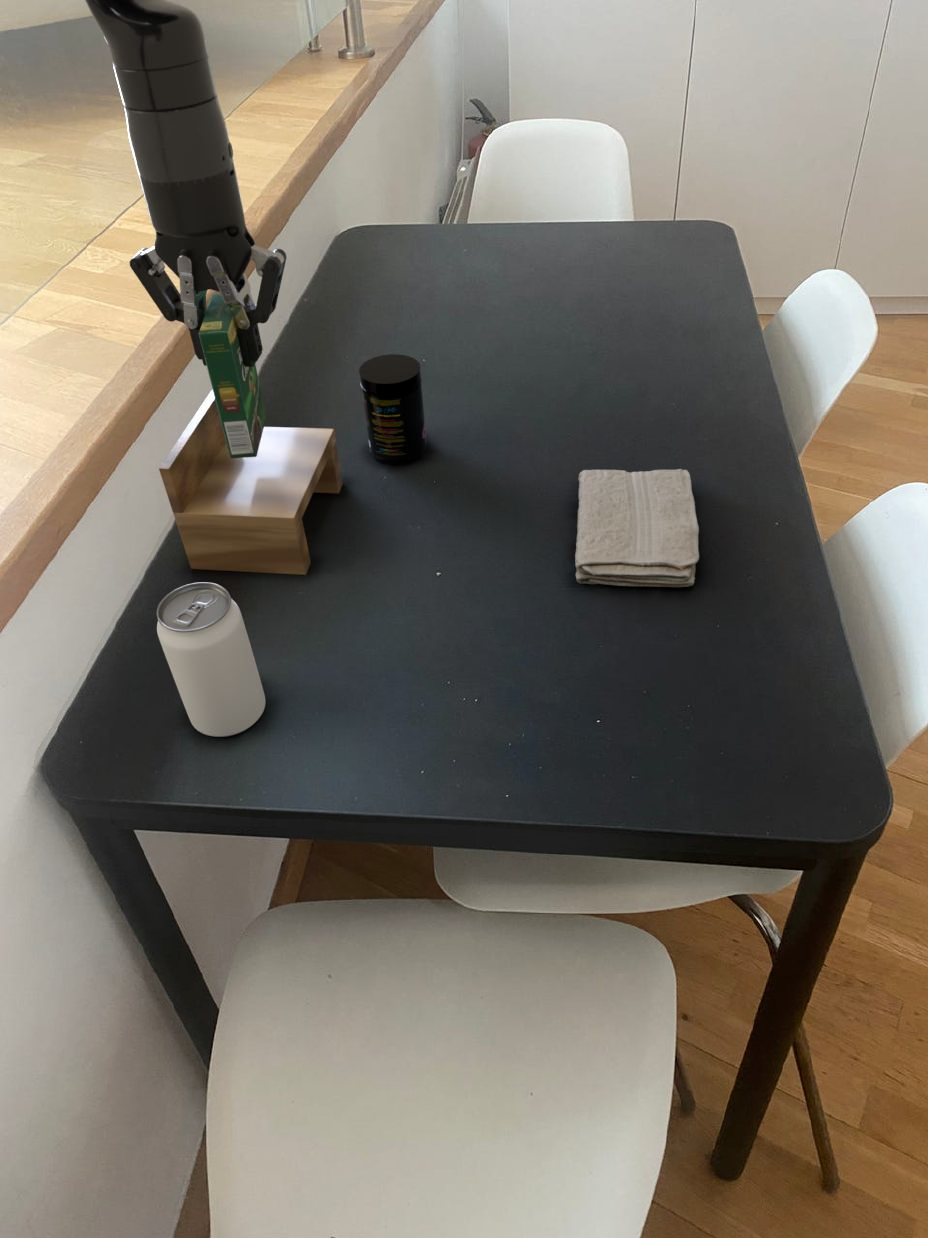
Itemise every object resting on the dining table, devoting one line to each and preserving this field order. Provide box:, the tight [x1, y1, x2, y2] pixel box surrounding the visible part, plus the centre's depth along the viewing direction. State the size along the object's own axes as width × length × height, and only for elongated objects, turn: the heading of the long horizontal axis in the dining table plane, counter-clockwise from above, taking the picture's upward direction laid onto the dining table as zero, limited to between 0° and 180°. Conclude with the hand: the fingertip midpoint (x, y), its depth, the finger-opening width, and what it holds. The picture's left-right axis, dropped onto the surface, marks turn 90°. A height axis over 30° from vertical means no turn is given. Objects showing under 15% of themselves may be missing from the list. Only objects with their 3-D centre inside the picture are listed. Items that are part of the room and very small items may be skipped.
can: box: [156, 581, 266, 738], centre depth 74 cm, size 6×6×12 cm
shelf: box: [158, 388, 344, 576], centre depth 94 cm, size 16×12×12 cm
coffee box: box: [199, 293, 268, 458], centre depth 86 cm, size 8×3×13 cm, turn 2°
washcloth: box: [574, 468, 700, 588], centre depth 92 cm, size 12×18×3 cm, turn 175°
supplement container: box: [358, 353, 428, 465], centre depth 103 cm, size 7×7×10 cm
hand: (231, 361), depth 85 cm, fingers closed on coffee box, 3 cm apart
